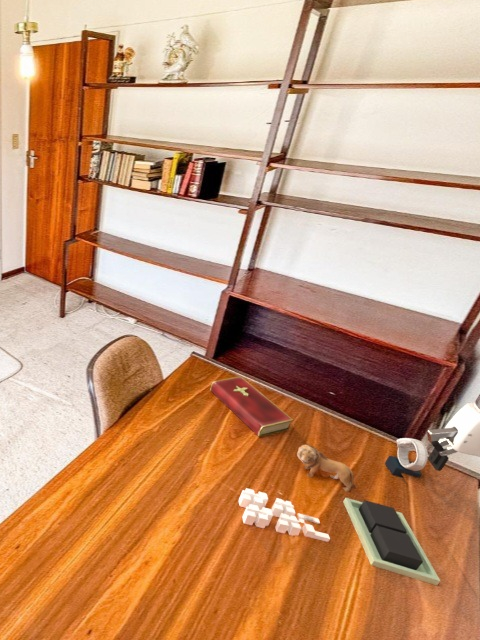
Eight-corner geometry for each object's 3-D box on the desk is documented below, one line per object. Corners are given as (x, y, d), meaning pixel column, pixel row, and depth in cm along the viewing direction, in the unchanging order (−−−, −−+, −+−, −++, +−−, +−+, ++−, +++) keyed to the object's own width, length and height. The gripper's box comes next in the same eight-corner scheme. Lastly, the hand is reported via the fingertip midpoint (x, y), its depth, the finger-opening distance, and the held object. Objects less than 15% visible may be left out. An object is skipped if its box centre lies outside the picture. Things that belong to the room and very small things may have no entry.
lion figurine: (291, 476, 105) (303, 452, 101) (287, 461, 109) (298, 437, 105) (357, 496, 100) (372, 472, 96) (350, 479, 105) (364, 455, 101)
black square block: (387, 517, 95) (394, 507, 93) (400, 541, 89) (407, 531, 88) (358, 509, 96) (364, 499, 95) (369, 532, 91) (375, 522, 90)
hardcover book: (258, 437, 117) (262, 426, 115) (209, 390, 135) (212, 380, 133) (289, 429, 120) (293, 419, 118) (237, 385, 138) (241, 375, 136)
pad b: (401, 544, 89) (408, 534, 87) (415, 571, 84) (423, 561, 82) (369, 535, 91) (376, 525, 89) (382, 561, 85) (389, 551, 84)
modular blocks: (243, 523, 92) (248, 512, 91) (237, 497, 98) (241, 486, 97) (339, 548, 88) (346, 537, 86) (326, 519, 94) (332, 508, 92)
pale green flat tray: (398, 518, 95) (401, 512, 94) (436, 586, 82) (440, 581, 81) (342, 502, 98) (345, 497, 97) (370, 566, 85) (373, 560, 84)
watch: (405, 464, 110) (424, 435, 105) (419, 488, 103) (440, 458, 98) (381, 458, 112) (398, 429, 107) (393, 481, 105) (412, 451, 100)
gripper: (547, 405, 76) (501, 468, 84) (437, 387, 81) (402, 447, 88) (583, 434, 70) (530, 499, 77) (462, 412, 75) (422, 475, 82)
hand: (462, 471), depth 83 cm, fingers open, 9 cm apart
